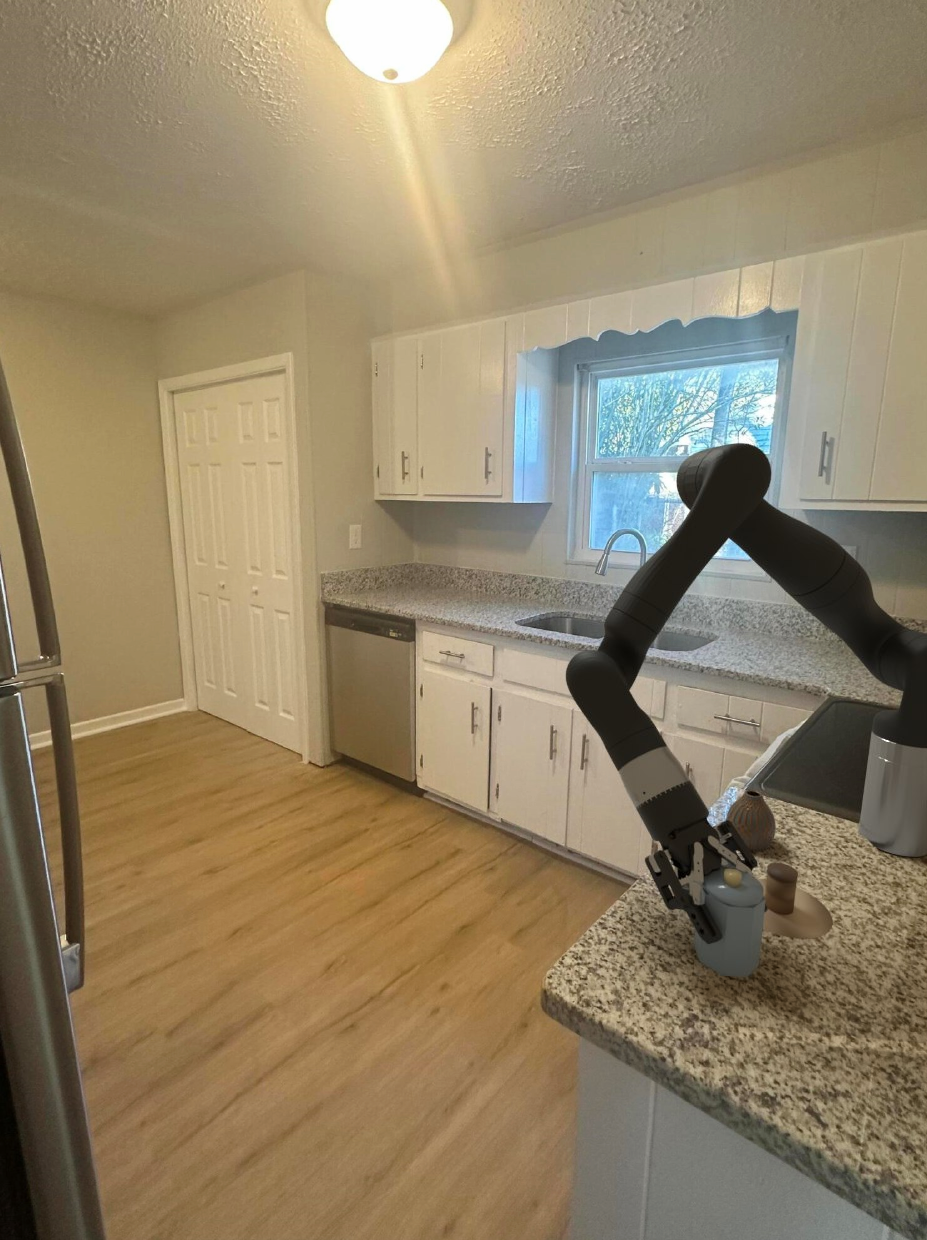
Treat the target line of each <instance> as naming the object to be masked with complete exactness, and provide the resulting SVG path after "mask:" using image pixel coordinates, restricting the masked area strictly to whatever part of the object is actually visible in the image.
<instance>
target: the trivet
mask: <svg viewBox="0 0 927 1240" xmlns="http://www.w3.org/2000/svg"><path fill="white" fill-rule="evenodd" d="M756 879H757V880H758V881H759V882H760V883H761V884H762V886H763V889H764V893H763V895H764V897H765V889H766V879H767V878H756ZM832 927H833V916H832V914H831V912H830V911H829V910H828V908H827V907H826V906H825V905H824V904H823V903H822V901H820V900H819V899H818V898H816V897H815V896H813V895H812V894H810V893H809V892H807V891H805V890H804V889H801V888H799V887H797V886H796V893H795V902H794V910H793V913H791V914H789V915H782V914H777V913H775V912H772V911H771V910H769V909H768V910H767V911H766V912H765V913H764V920H763V930H764V931H766V932H768V933H771V934H774V935H778V936H782V937H787V938H791V939H792V938H793V939H801V940H802V939H804V940H805V939H816V938H819V937H822V936H824V935H826V934H827V933H829V931H830V930H831V929H832ZM763 930H762V931H763Z"/></svg>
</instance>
